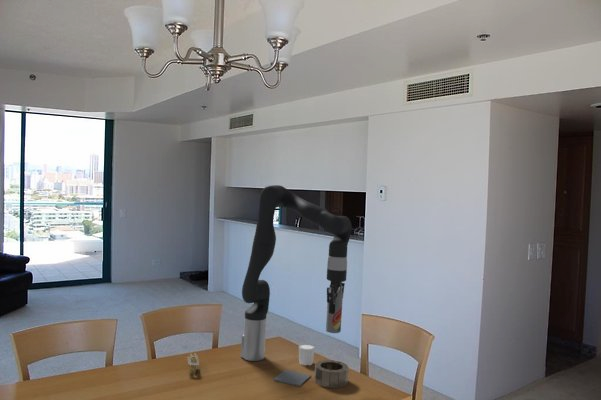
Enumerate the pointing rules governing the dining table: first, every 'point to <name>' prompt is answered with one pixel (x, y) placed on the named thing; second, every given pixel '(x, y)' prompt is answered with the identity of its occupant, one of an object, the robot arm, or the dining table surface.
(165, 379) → the dining table surface
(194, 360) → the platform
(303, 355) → the white cylinder
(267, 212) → the robot arm
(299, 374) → the rubber mat
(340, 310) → the lotion bottle
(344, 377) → the collar
